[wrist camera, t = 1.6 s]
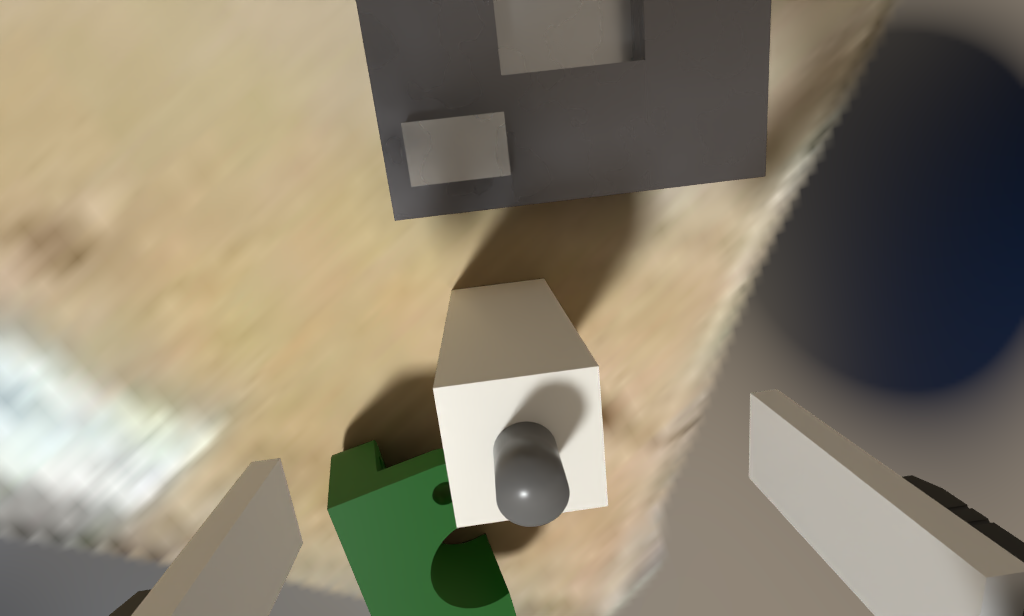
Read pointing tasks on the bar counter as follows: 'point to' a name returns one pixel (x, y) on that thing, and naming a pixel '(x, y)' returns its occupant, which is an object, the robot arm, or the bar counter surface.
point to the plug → (518, 408)
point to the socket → (563, 97)
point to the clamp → (410, 538)
